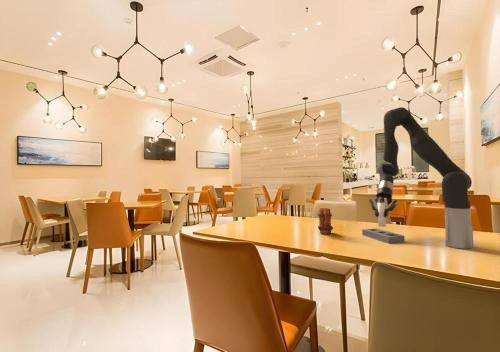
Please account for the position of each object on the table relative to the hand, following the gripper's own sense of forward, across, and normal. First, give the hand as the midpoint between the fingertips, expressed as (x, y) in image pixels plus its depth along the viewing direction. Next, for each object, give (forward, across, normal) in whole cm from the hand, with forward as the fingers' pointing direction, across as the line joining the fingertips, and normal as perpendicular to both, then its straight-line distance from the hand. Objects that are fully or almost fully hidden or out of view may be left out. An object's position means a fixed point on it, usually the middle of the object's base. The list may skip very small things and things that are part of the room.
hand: (380, 216), depth 138 cm
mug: (+10, -28, +6) cm, 31 cm away
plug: (+2, 0, +5) cm, 6 cm away
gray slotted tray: (+7, 0, +10) cm, 12 cm away
